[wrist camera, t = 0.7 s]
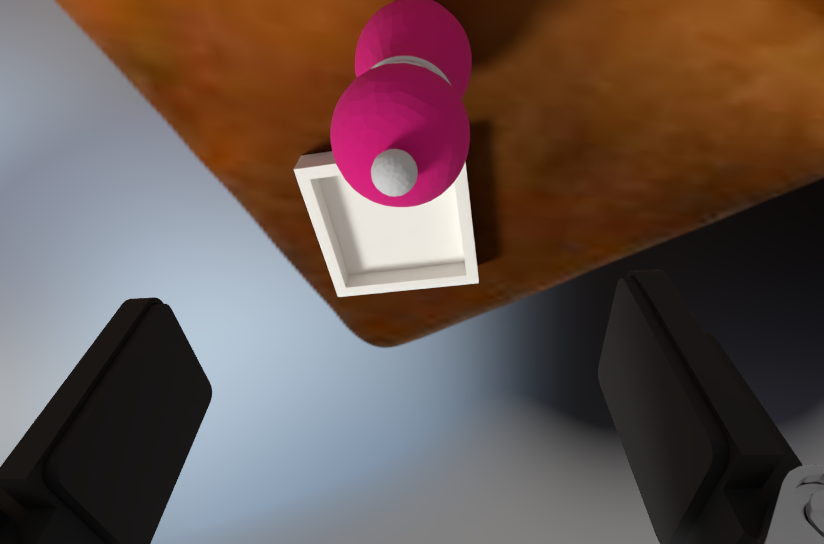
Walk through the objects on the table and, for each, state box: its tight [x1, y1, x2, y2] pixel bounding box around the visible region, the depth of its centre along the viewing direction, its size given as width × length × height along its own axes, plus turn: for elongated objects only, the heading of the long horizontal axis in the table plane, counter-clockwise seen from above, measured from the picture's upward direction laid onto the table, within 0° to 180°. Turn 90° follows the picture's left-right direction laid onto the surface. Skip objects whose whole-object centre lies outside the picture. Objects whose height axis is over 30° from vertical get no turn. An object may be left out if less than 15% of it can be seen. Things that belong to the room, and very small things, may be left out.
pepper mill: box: [330, 0, 472, 207], centre depth 25 cm, size 7×7×20 cm
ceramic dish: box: [294, 151, 479, 297], centre depth 41 cm, size 13×13×2 cm
